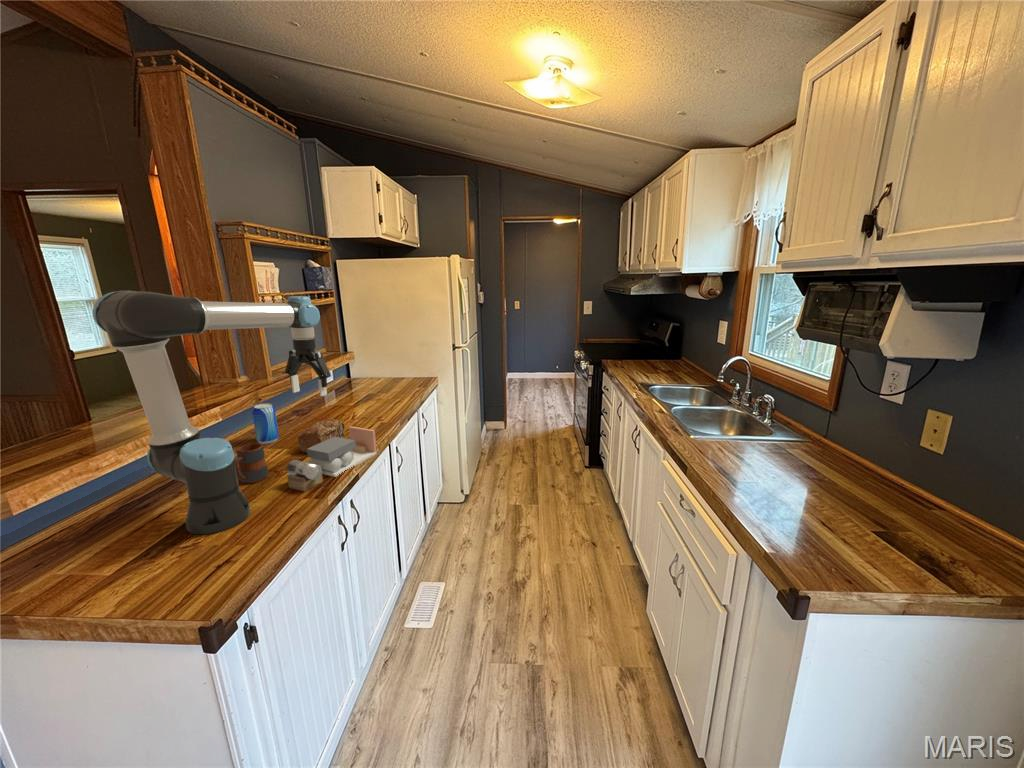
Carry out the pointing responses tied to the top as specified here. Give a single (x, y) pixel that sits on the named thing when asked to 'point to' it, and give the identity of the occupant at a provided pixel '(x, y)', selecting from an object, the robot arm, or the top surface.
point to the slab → (331, 448)
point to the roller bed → (350, 452)
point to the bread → (320, 433)
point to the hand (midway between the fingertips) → (309, 393)
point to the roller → (304, 469)
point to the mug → (251, 463)
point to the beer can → (265, 423)
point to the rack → (302, 482)
